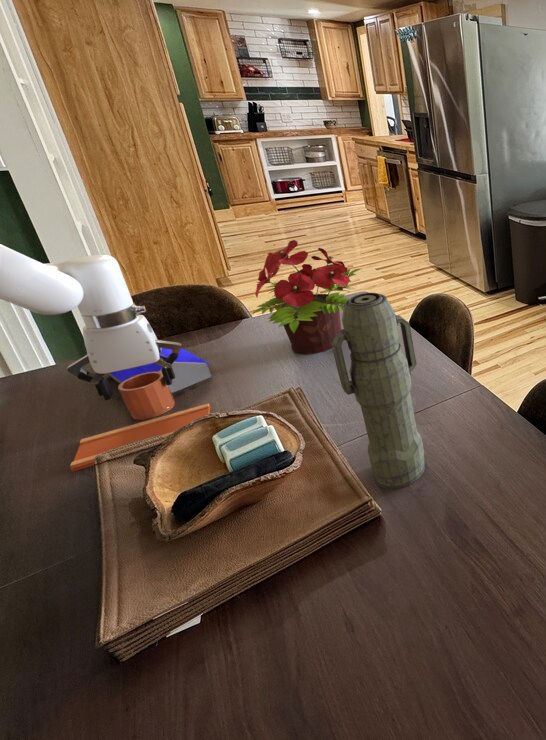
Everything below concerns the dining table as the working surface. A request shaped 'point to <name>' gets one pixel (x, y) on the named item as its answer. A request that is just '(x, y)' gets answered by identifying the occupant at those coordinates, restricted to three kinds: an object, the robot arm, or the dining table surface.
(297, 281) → the potted plant
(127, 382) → the terracotta pot
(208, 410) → the orange rectangular tray
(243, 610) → the dining table surface
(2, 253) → the robot arm
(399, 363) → the thermos
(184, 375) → the roof
